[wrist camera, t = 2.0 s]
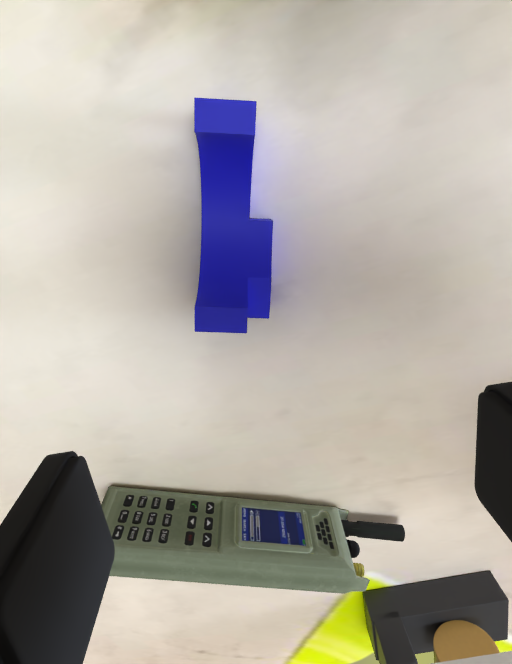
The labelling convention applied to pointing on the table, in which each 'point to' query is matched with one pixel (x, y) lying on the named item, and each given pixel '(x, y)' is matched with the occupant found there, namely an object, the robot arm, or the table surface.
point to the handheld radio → (237, 541)
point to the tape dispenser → (437, 619)
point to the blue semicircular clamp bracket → (230, 221)
